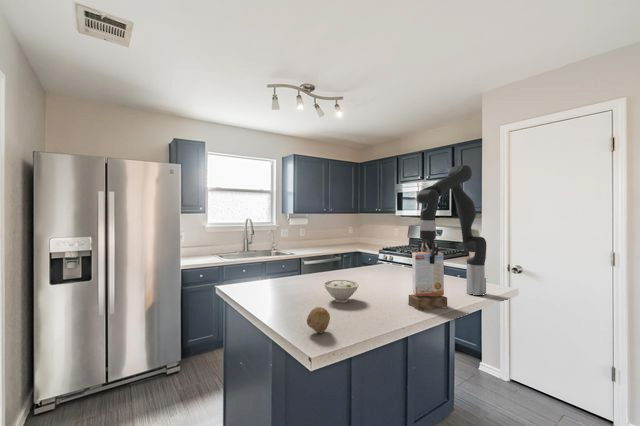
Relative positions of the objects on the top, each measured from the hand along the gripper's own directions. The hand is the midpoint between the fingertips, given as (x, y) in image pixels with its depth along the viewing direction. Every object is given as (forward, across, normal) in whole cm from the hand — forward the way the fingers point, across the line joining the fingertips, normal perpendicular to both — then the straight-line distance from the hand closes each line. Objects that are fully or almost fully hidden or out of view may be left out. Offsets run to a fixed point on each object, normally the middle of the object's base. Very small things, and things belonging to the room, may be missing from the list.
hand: (427, 262), depth 149 cm
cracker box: (+16, 0, 0) cm, 16 cm away
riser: (+22, 0, 0) cm, 22 cm away
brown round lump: (+22, +19, -61) cm, 68 cm away
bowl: (+22, -20, -39) cm, 49 cm away
